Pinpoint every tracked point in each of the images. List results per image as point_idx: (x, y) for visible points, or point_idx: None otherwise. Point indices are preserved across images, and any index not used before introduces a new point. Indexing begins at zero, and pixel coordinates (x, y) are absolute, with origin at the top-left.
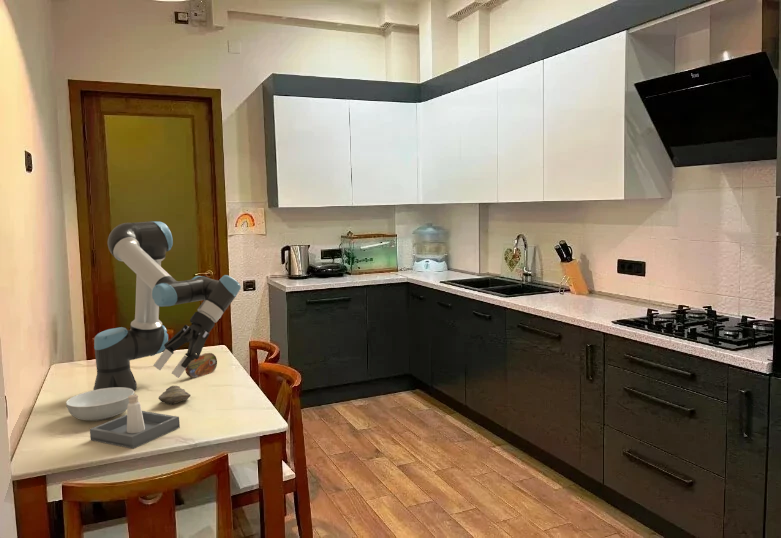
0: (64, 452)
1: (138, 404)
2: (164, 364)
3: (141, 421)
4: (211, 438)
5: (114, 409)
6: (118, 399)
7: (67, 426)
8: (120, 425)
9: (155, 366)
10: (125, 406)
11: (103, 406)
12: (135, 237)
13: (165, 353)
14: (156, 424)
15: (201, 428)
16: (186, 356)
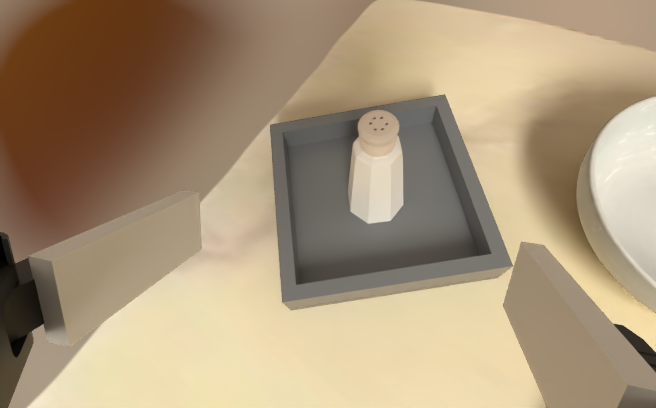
0: (409, 61)
1: (354, 154)
2: (521, 344)
3: (351, 191)
4: None
5: (578, 205)
6: None
7: None
8: (458, 191)
9: (517, 256)
10: (599, 256)
11: (587, 157)
12: None
13: (584, 359)
14: (366, 264)
15: (212, 346)
16: (32, 271)
